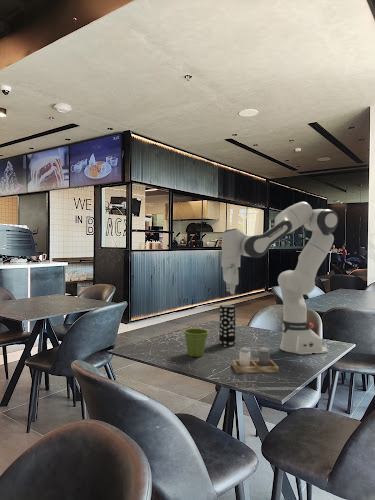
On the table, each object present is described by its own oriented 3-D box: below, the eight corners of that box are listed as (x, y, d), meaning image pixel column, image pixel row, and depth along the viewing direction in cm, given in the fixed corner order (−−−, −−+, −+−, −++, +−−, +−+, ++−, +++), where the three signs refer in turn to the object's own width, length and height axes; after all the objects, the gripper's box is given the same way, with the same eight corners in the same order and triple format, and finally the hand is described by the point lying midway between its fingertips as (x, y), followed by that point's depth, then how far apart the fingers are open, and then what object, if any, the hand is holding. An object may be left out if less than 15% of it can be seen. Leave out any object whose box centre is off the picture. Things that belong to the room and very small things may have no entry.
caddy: (271, 366, 160) (271, 359, 160) (278, 374, 150) (278, 367, 150) (231, 367, 159) (231, 359, 159) (236, 375, 149) (236, 367, 149)
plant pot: (200, 360, 168) (200, 335, 168) (178, 356, 174) (178, 331, 174) (213, 354, 178) (213, 330, 178) (191, 350, 184) (191, 327, 184)
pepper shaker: (267, 366, 157) (268, 347, 157) (270, 369, 153) (271, 350, 153) (257, 366, 157) (257, 347, 157) (260, 370, 153) (260, 350, 152)
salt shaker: (248, 366, 157) (249, 347, 157) (251, 370, 152) (251, 350, 152) (238, 366, 156) (238, 347, 156) (240, 370, 152) (240, 350, 152)
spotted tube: (217, 345, 193) (217, 306, 193) (221, 341, 201) (222, 304, 200) (232, 347, 190) (233, 307, 190) (237, 343, 198) (237, 305, 197)
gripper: (242, 264, 167) (241, 295, 167) (233, 262, 187) (233, 290, 187) (228, 264, 166) (227, 295, 166) (220, 262, 187) (220, 290, 187)
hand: (230, 292), depth 177 cm, fingers open, 8 cm apart
